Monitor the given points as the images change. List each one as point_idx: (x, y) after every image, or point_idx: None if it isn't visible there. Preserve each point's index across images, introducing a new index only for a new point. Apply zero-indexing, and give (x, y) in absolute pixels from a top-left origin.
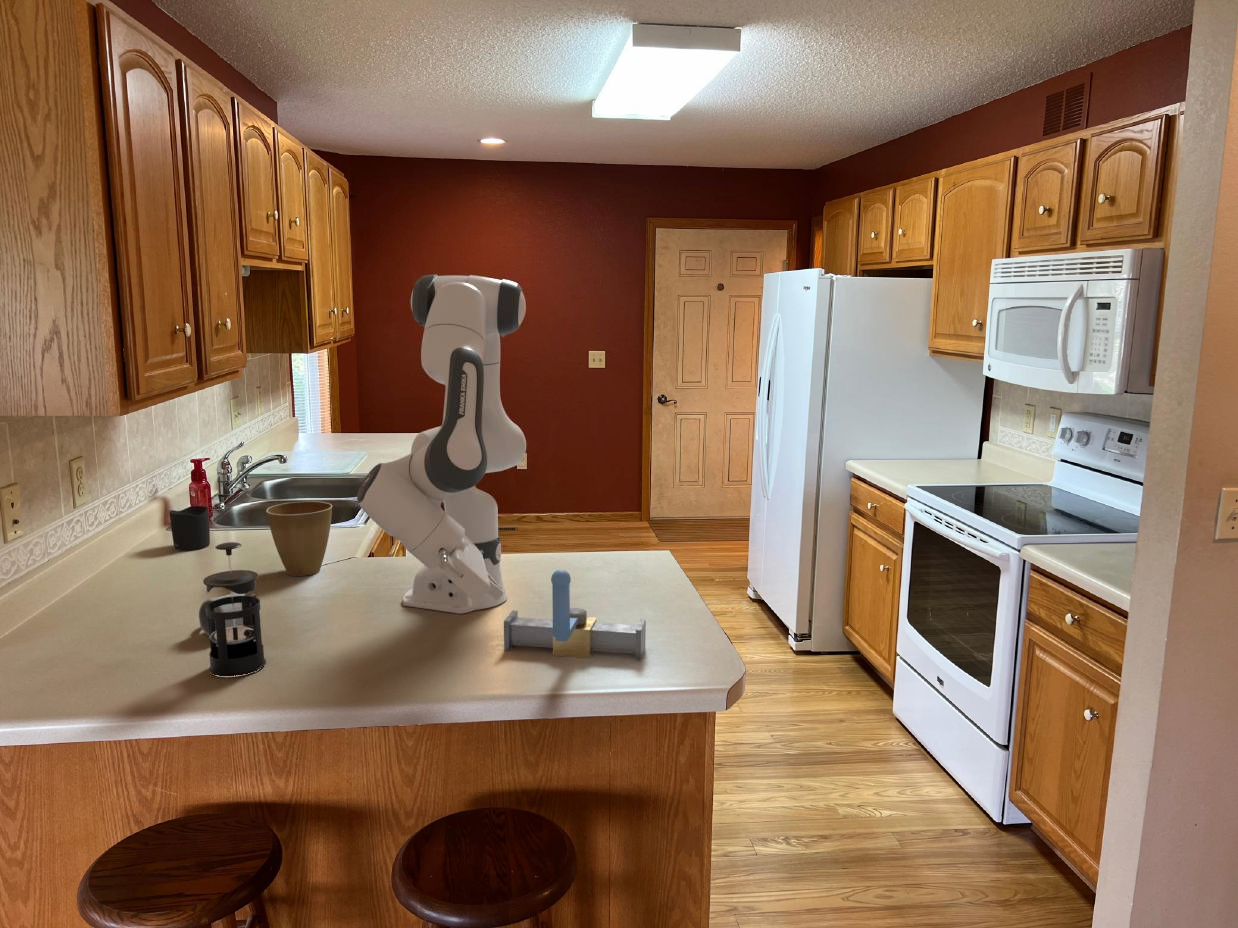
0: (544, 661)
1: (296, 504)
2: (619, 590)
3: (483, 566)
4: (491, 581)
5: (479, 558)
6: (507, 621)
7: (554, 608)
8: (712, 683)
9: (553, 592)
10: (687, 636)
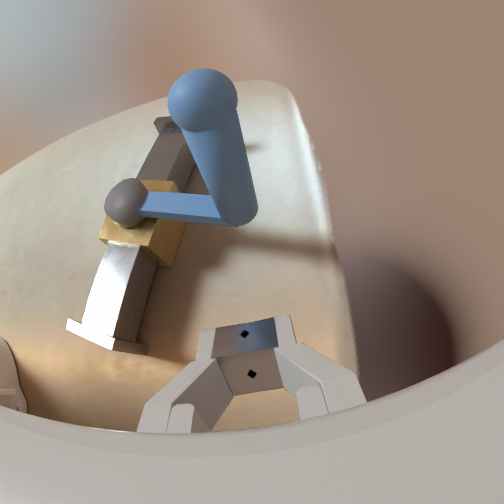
0: (195, 281)
1: None
2: (19, 204)
3: (253, 463)
4: (314, 372)
5: (70, 472)
6: (113, 341)
7: (239, 176)
8: (282, 92)
9: (224, 145)
10: (149, 118)
